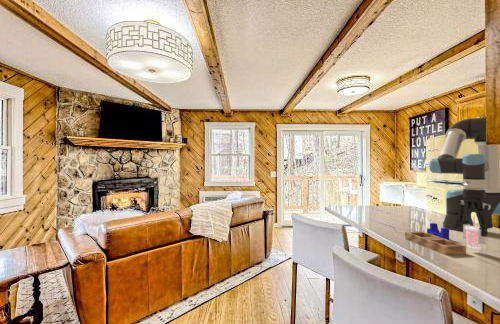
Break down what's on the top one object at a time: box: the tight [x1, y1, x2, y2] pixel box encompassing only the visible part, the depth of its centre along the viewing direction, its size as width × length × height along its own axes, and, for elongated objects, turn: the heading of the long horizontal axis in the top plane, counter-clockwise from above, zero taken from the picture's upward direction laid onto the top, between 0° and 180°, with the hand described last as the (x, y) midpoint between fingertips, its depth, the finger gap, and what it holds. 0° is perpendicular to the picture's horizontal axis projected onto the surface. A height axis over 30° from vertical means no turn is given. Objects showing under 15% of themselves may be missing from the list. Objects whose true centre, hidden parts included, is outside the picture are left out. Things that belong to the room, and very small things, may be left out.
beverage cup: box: [465, 215, 483, 250], centre depth 115 cm, size 6×6×14 cm
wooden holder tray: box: [404, 231, 467, 256], centre depth 124 cm, size 24×10×4 cm, turn 8°
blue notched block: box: [426, 222, 450, 240], centre depth 139 cm, size 12×4×6 cm, turn 172°
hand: (474, 241), depth 115 cm, fingers closed on beverage cup, 6 cm apart
